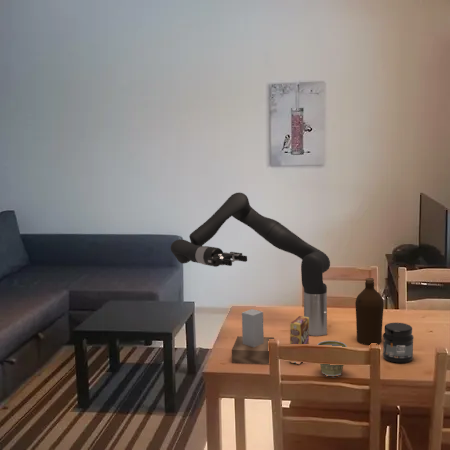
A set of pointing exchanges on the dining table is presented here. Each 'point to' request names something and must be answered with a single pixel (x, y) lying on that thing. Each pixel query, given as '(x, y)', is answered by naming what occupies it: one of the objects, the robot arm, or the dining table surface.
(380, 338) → the olive oil
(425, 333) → the dining table surface
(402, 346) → the supplement container
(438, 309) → the dining table surface
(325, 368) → the ceramic cup
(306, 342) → the candy box
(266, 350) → the walnut plinth
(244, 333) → the grey block
